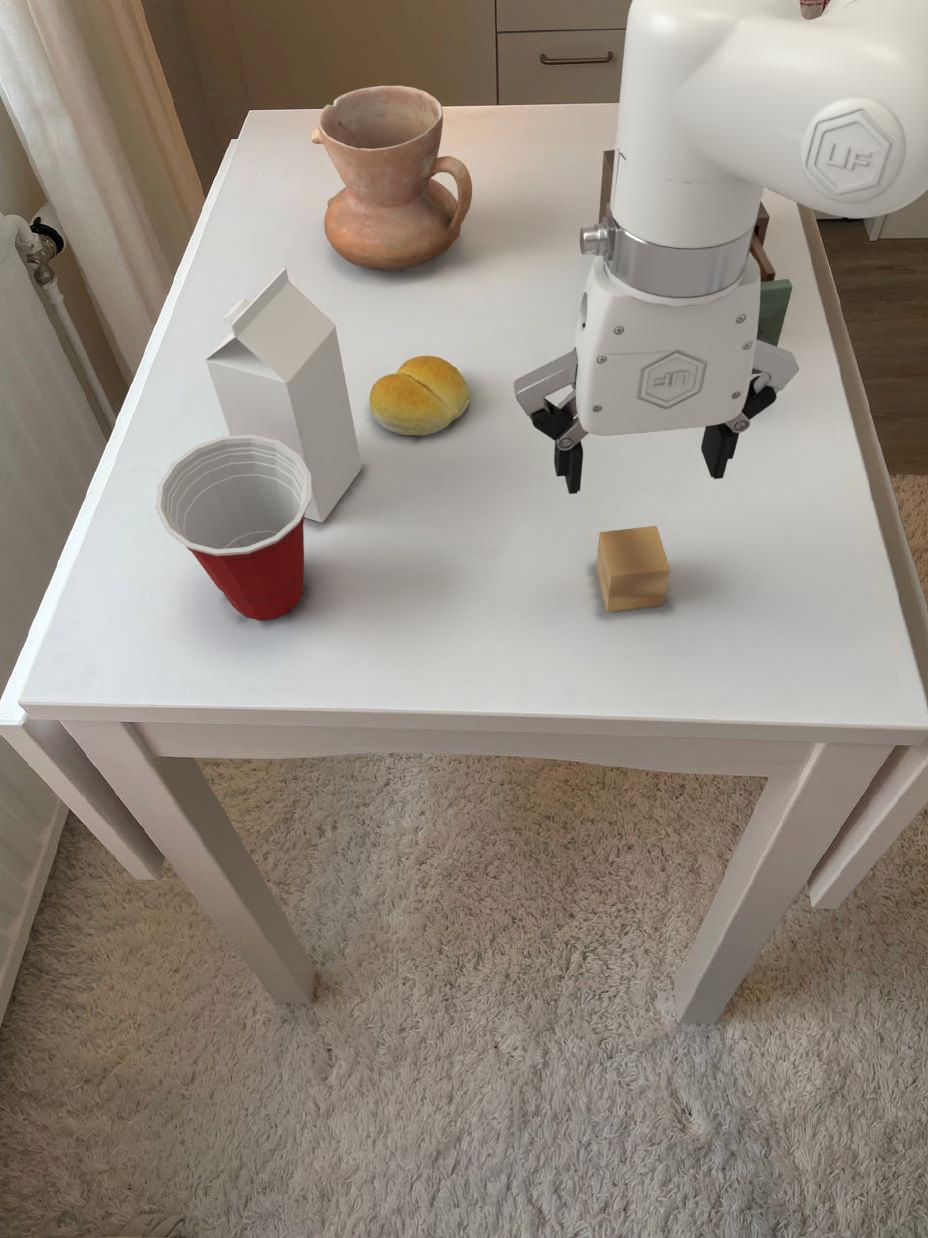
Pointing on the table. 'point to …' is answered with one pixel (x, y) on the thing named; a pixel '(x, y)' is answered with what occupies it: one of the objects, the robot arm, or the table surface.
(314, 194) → the table surface
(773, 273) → the drawer
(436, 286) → the table surface
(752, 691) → the table surface
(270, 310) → the milk carton
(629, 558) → the block
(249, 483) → the plastic cup
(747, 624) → the table surface
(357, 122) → the ceramic jug
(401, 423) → the bread roll
